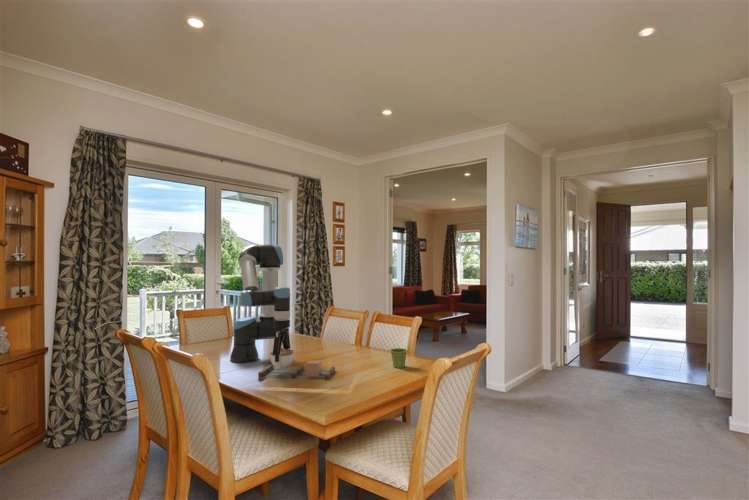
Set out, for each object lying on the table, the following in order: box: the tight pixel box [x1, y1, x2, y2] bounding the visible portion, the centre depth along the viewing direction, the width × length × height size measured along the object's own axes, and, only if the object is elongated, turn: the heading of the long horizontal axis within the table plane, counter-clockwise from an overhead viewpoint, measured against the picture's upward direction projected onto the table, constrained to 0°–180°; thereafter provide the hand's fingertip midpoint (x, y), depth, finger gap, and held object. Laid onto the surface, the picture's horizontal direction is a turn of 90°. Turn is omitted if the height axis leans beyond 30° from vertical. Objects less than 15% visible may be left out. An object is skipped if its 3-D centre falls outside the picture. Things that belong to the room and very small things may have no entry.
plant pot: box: [389, 347, 409, 369], centre depth 216 cm, size 9×9×9 cm
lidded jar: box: [269, 347, 294, 369], centre depth 198 cm, size 11×11×9 cm
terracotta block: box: [305, 359, 322, 376], centre depth 196 cm, size 6×6×6 cm
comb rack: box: [257, 364, 336, 381], centre depth 197 cm, size 15×33×4 cm, turn 83°
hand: (281, 365), depth 198 cm, fingers closed on lidded jar, 11 cm apart
